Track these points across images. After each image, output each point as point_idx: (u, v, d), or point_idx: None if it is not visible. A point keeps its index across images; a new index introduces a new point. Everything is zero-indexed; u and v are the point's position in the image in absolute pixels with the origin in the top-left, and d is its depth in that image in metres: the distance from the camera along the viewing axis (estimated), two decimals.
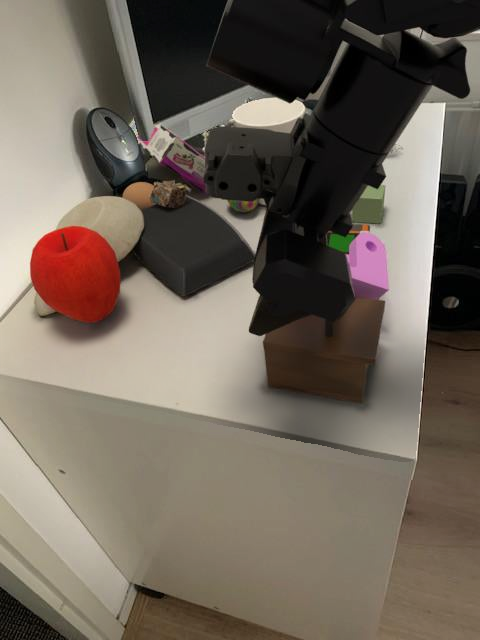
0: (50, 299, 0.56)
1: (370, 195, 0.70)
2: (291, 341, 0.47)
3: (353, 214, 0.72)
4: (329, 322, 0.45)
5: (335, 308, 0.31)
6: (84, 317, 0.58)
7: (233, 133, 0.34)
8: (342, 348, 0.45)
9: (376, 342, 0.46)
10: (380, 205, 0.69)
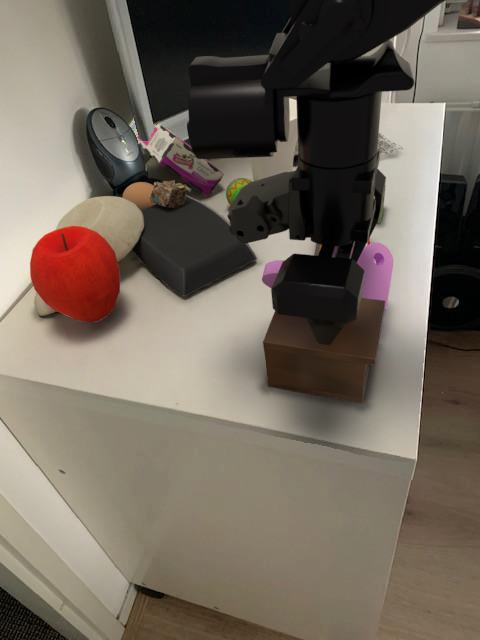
0: (50, 299, 0.56)
1: None
2: (291, 341, 0.47)
3: None
4: None
5: (341, 311, 0.34)
6: (84, 317, 0.58)
7: (255, 186, 0.42)
8: (342, 348, 0.45)
9: (376, 342, 0.45)
10: None
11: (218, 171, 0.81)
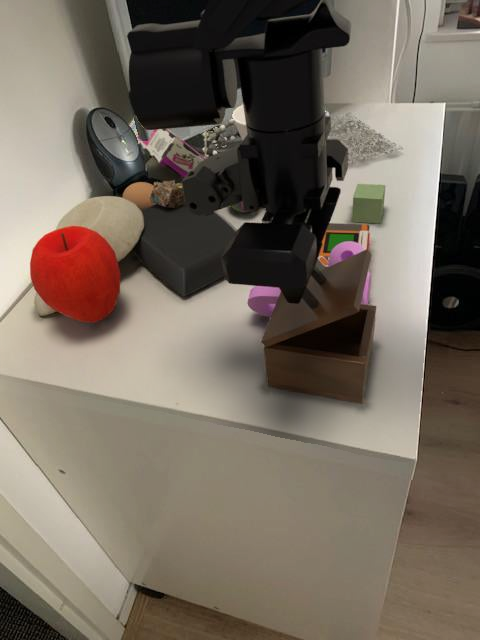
0: (50, 299, 0.56)
1: (370, 195, 0.70)
2: (283, 329, 0.46)
3: (353, 214, 0.72)
4: None
5: (289, 276, 0.34)
6: (84, 317, 0.58)
7: (211, 160, 0.42)
8: (325, 312, 0.43)
9: (356, 290, 0.42)
10: (380, 205, 0.69)
11: None
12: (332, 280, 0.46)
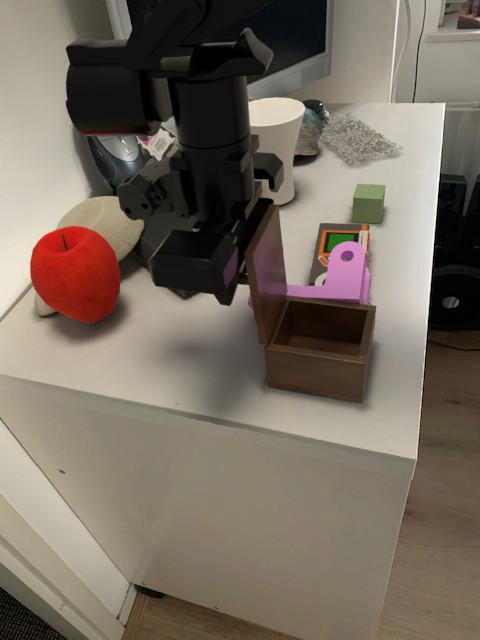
0: (50, 299, 0.56)
1: (370, 195, 0.70)
2: None
3: (353, 214, 0.72)
4: None
5: (208, 283, 0.37)
6: (84, 317, 0.58)
7: (150, 167, 0.44)
8: None
9: (251, 241, 0.42)
10: (380, 205, 0.69)
11: None
12: None
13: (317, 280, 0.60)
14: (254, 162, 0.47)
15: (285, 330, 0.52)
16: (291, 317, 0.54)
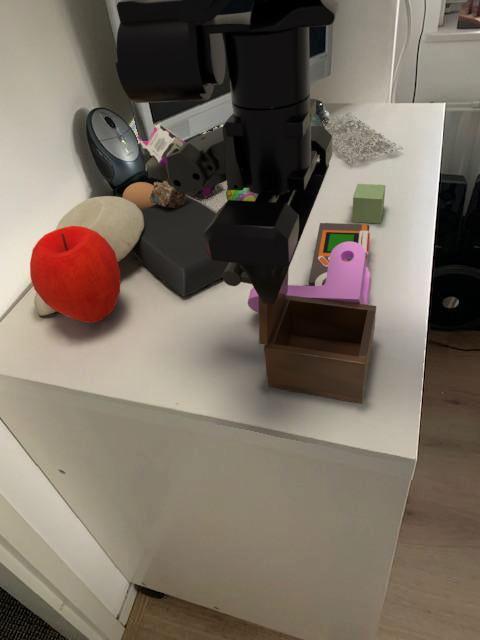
0: (50, 299, 0.56)
1: (370, 195, 0.70)
2: None
3: (353, 214, 0.72)
4: (244, 279, 0.45)
5: (272, 253, 0.34)
6: (84, 317, 0.58)
7: (196, 140, 0.42)
8: None
9: None
10: (380, 205, 0.69)
11: None
12: None
13: (317, 280, 0.60)
14: None
15: (285, 330, 0.52)
16: (291, 317, 0.54)
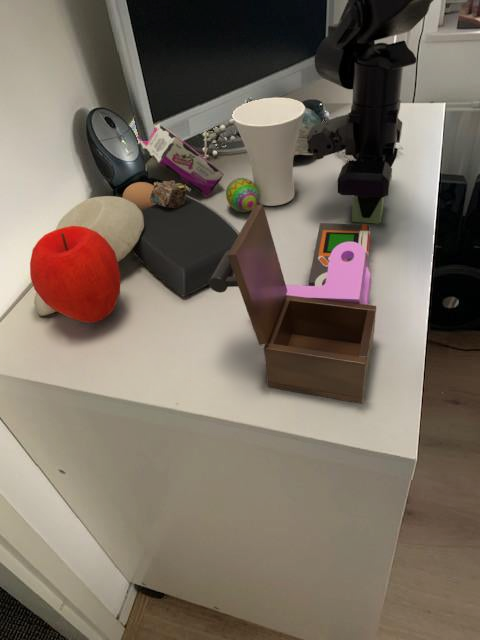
0: (50, 299, 0.56)
1: None
2: None
3: (353, 214, 0.71)
4: (230, 283, 0.46)
5: (379, 189, 0.60)
6: (84, 317, 0.58)
7: (322, 125, 0.67)
8: None
9: None
10: (380, 205, 0.69)
11: (218, 171, 0.81)
12: None
13: (316, 280, 0.60)
14: None
15: (285, 330, 0.52)
16: (291, 317, 0.54)
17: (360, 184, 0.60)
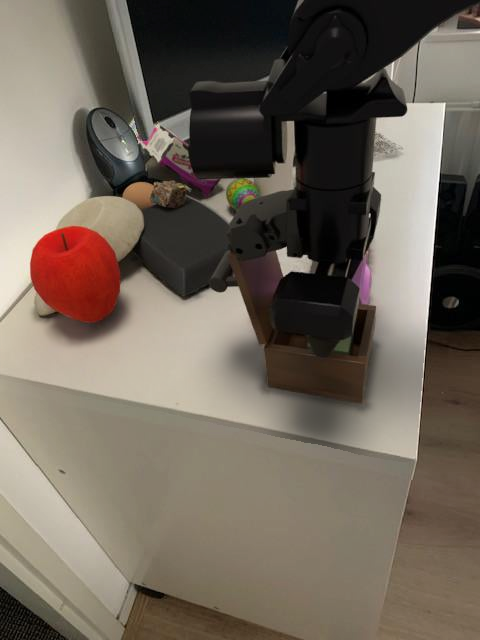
0: (50, 299, 0.56)
1: None
2: None
3: None
4: (230, 283, 0.46)
5: (337, 328, 0.35)
6: (84, 317, 0.58)
7: (254, 204, 0.43)
8: None
9: None
10: None
11: None
12: None
13: None
14: None
15: None
16: None
17: (305, 319, 0.36)
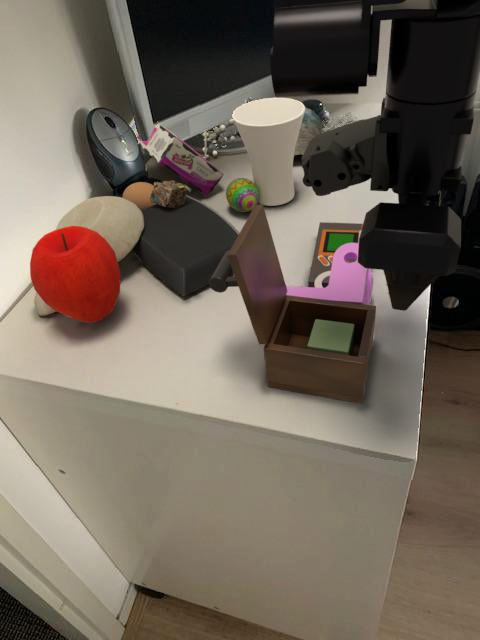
0: (50, 299, 0.56)
1: (332, 343, 0.48)
2: None
3: None
4: (230, 283, 0.46)
5: (440, 262, 0.31)
6: (84, 317, 0.58)
7: (328, 136, 0.39)
8: None
9: None
10: None
11: (217, 171, 0.81)
12: None
13: (316, 279, 0.60)
14: None
15: (285, 330, 0.52)
16: (291, 317, 0.54)
17: (403, 251, 0.31)
